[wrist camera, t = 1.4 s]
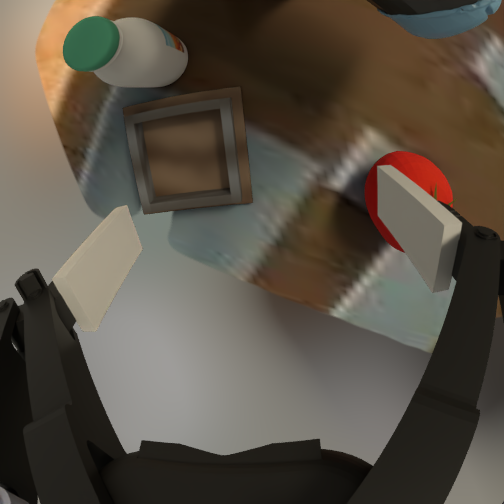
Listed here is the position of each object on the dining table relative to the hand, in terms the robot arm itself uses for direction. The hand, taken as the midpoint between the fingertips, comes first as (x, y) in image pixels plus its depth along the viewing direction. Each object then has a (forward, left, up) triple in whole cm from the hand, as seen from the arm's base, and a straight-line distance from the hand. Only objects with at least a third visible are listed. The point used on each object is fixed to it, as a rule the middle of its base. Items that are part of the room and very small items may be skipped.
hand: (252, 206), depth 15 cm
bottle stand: (+1, -9, -27) cm, 28 cm away
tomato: (+9, +20, -27) cm, 35 cm away
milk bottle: (-12, -11, -27) cm, 31 cm away
